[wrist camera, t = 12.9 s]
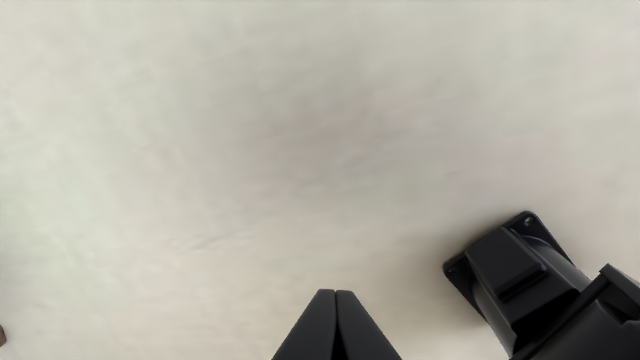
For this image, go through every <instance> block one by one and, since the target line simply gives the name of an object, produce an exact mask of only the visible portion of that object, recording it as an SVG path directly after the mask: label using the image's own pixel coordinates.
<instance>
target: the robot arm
mask: <svg viewBox="0 0 640 360" xmlns="http://www.w3.org/2000/svg"><path fill="white" fill-rule="evenodd" d="M529 217H530V220H529V221H527V222H525V221H526V219H527V218H529ZM450 269H454V270H453V271H451V272H449V270H450ZM443 272H444V274H445V276H446V277H447V278H448V279H449V280H450V282H451V283H452V284H453V285H454V286H455V287H456V288H457V289H458V290H459V292H460V293H461V294H462V295H463V296H464V297H465V298H466V299H467V300H468V302H469V303H470V304H471V305H472V306H473V307H474V308H475V309H476V310H477V312H478V313H479V314H480V315H481V316H482V317H483V318H484V319H485V320H486V322H487V323H488V324H489V325H490V326H491V328H492V329H493V331H494V333H495V334H496V336H497V338H498V339H499V341H500V343H501V344H502V346H503V347H504V349H505V351H506V352H507V354H508V356H509V357H510V359H509V360H640V283H639V282H637V281H635V280H634V279H632V278H631V277H629V276H627V275H626V274H624V273H623V272H621V271H620V270H618V269H616V268H615V267H613V266H612V265H610V264H608V263H607V264H606V265H605V266H604V267H603V268H602V269H601V270H600V271H599V272H600V273H601V274H600V275H599V276H598V277H596V278H595V279H594V280H593V281H591V280H590V279H589V278H588V277H587V276H585V275H584V274H583V273H582V272H581V271H579V270H578V269H577V268H576V267H575V266H574V264H573V263H572V262H571V260H570V259H569V258H568V256H567V255H566V254H565V252H564V251H563V250H562V248H561V247H560V246H559V244H558V243H557V242H556V240H555V239H554V238H553V236H552V235H551V234H550V232H549V231H548V230H547V228H546V227H545V226H544V224H543V223H542V222H541V220H540V219H539V218H538V217H537V216H536V215H535V214H534V213H533V212H531V211H524V212H522V213H520V214H519V215H517V216H516V217H514V218H513V219H511V220H510V221H508V222H507V223H505V224H504V225H502V226H501V227H499V228H497V229H496V230H494V231H493V232H491V233H490V234H488V235H487V236H485V237H484V238H483V239H481V240H480V241H478V242H477V243H475V244H474V245H472V246H471V247H469V248H468V249H466V250H465V251H464V252H462V253H461V254H459V255H458V256H456V257H455V258H453V259H452V260H450V261H449V262H447V263H446V264H445V265H444V266H443ZM271 360H402V359H401V357H400V356H399V355H398V353H397V352H396V350H395V349H394V348H393V346H392V345H391V344H390V342H389V341H388V340H387V338H386V337H385V335H384V334H383V333H382V331H381V330H380V329H379V327H378V326H377V325H376V323H375V322H374V321H373V319H372V318H371V316H370V315H369V314H368V312H367V311H366V310H365V308H364V307H363V306H362V304H361V303H360V301H359V300H358V299H357V297H356V296H355V295H354V293H353V292H352V291H348V290H337V291H336V292H335V291H334V290H332V289H319V290H318V291H317V293H316V294H315V296H314V297H313V299H312V300H311V302H310V303H309V305H308V306H307V308H306V309H305V311H304V312H303V313H302V315H301V316H300V318H299V319H298V321H297V322H296V324H295V325H294V327H293V328H292V330H291V331H290V333H289V334H288V336H287V337H286V339H285V340H284V342H283V343H282V345H281V346H280V348H279V349H278V350H277V352H276V353H275V355H274V356H273V358H272V359H271Z"/></svg>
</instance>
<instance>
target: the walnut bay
mask: <svg viewBox="0 0 640 360" xmlns="http://www.w3.org/2000/svg"><path fill="white" fill-rule="evenodd" d="M4 343H6V340H5V337H4V334H3V331H2V328H1V327H0V347H1V346H2V345H3V344H4Z"/></svg>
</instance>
